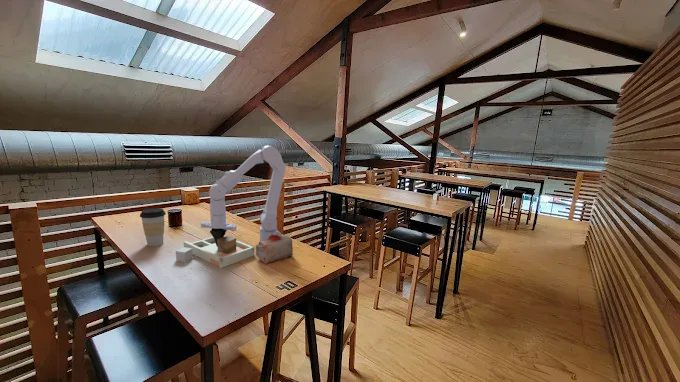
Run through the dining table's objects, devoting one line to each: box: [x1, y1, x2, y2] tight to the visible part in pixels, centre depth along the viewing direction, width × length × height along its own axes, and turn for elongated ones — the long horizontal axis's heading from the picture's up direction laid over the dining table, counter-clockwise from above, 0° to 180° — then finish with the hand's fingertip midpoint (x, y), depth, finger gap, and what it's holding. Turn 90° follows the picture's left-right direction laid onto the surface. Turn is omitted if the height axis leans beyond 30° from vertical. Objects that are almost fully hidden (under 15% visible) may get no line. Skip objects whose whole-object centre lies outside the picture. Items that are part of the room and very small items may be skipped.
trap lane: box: [183, 235, 255, 269], centre depth 122 cm, size 26×15×4 cm, turn 55°
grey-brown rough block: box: [255, 234, 294, 265], centre depth 118 cm, size 14×8×10 cm, turn 134°
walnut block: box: [217, 235, 237, 254], centre depth 119 cm, size 5×5×5 cm
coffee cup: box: [139, 207, 167, 247], centre depth 126 cm, size 9×9×15 cm
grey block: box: [175, 246, 194, 263], centre depth 114 cm, size 4×4×4 cm
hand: (219, 245), depth 121 cm, fingers closed
